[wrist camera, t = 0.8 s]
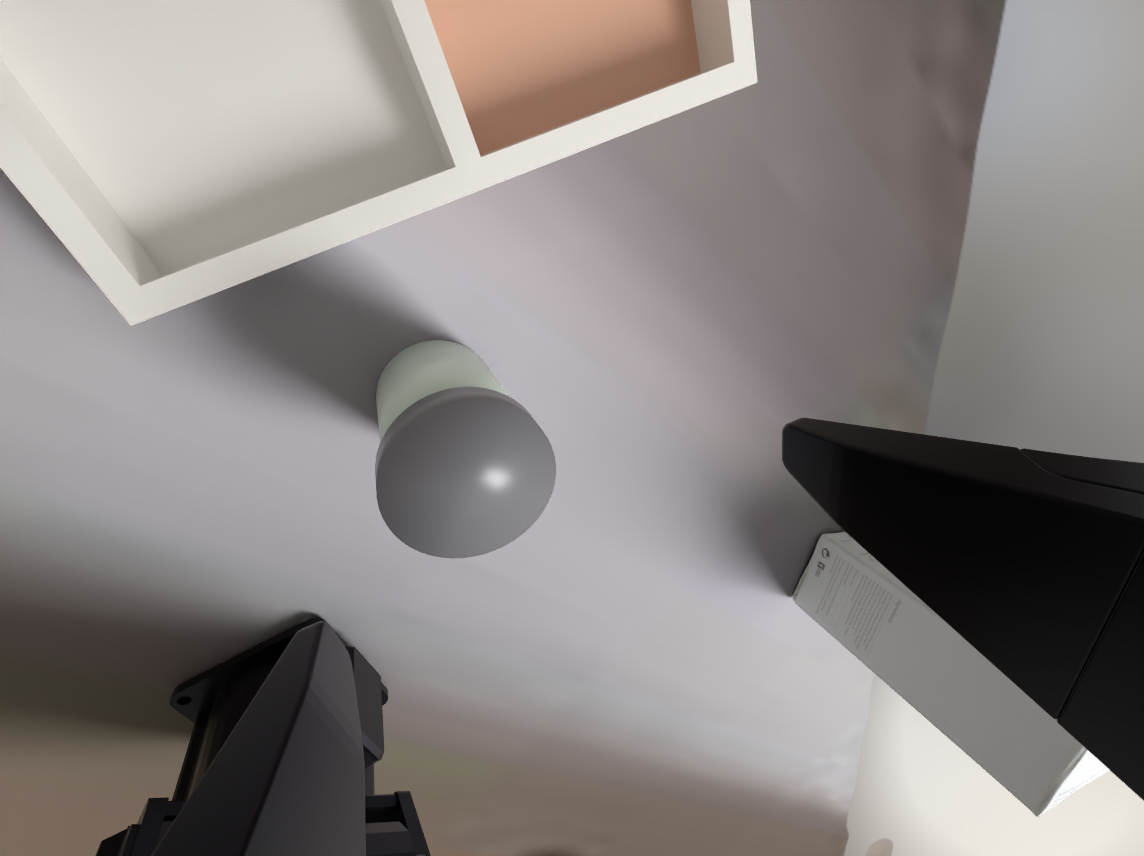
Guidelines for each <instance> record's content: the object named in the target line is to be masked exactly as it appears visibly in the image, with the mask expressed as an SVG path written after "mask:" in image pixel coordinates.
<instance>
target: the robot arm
mask: <svg viewBox="0 0 1144 856" xmlns="http://www.w3.org/2000/svg"><path fill="white" fill-rule="evenodd" d="M782 460H783V463H784V466H785V467H786V469H787V470H788V472H789V473H790V474H791V475H792V476H793V477H794V478H795V479H796V480H797V481H798V483H799V484H800V485H801V486H802V487H803V488H804V489H805V490H806V491H807V492H808V493H809V495H810V496H811V497H812V498H813V499H814V500H815V501H816V502H817V503H818V504H819V505H820V507H821V508H822V509H823V510H824V511H825V512H826V513H827V514H828V515H829V516H830V517H831V518H832V519H833V520H834V522H835V523H836V524H837V525H838V526H840V527H841V528H842V529H843V530H844V531H845V532H846V533H847V534H848V535H849V536H850V537H851V538H853V539H854V540H855V541H856V542H857V543H858V544H859V545H860V546H861V547H863V548H864V549H865V550H866V551H867V552H868V553H869V554H870V555H871V556H873V557H874V558H875V559H876V560H877V561H878V562H879V563H880V564H882V565H883V566H884V567H885V568H886V569H887V570H888V571H889V572H890V573H892V574H893V575H894V576H895V577H896V578H897V579H898V580H899V581H900V582H902V583H903V584H904V585H905V586H906V587H907V588H908V589H909V590H910V591H912V592H913V593H914V594H915V595H916V596H917V597H918V598H919V599H920V600H922V601H923V602H924V603H925V604H926V605H927V606H928V607H929V608H931V609H932V610H933V611H934V612H935V613H936V614H937V615H938V616H939V617H941V618H942V619H943V620H944V621H945V622H946V623H947V624H948V625H949V626H951V627H952V628H953V629H954V630H955V631H956V632H957V633H958V634H959V635H961V636H962V637H963V638H964V639H965V640H966V641H967V642H968V643H969V644H971V645H972V646H973V647H974V648H975V649H976V650H977V651H978V652H979V653H981V654H982V655H983V656H984V657H985V658H986V659H987V660H988V661H990V662H991V663H992V664H993V665H994V666H995V667H996V668H997V669H998V670H1000V671H1001V672H1002V673H1003V674H1004V675H1005V676H1006V677H1007V678H1008V679H1010V680H1011V681H1012V682H1013V683H1014V684H1015V685H1016V686H1017V687H1018V688H1020V689H1021V690H1022V691H1023V692H1024V693H1025V694H1026V695H1027V696H1028V697H1030V698H1031V699H1032V700H1033V701H1034V702H1035V703H1036V704H1037V705H1039V706H1040V707H1041V708H1042V709H1043V710H1044V711H1045V712H1046V713H1047V714H1049V715H1050V716H1051V717H1052V718H1053V719H1057V720H1056V721H1057V723H1058V724H1059V725H1060V726H1061V727H1063V728H1064V729H1065V730H1066V731H1067V732H1068V733H1069V734H1070V735H1071V736H1073V737H1074V738H1075V739H1076V740H1077V741H1078V742H1079V743H1080V744H1081V745H1083V746H1084V747H1085V748H1086V749H1087V750H1088V751H1089V752H1090V753H1091V754H1093V755H1094V756H1095V757H1096V758H1097V759H1098V760H1099V761H1100V762H1101V763H1103V764H1104V765H1105V766H1106V767H1107V768H1108V769H1109V770H1110V771H1112V772H1113V773H1114V774H1115V775H1116V776H1117V777H1118V778H1119V779H1120V780H1122V781H1123V782H1124V783H1125V784H1126V785H1127V786H1128V787H1129V788H1131V789H1132V790H1133V791H1134V792H1135V793H1136V794H1137V795H1138V796H1139V797H1140V798H1142V799H1143V800H1144V463H1138V462H1128V461H1119V460H1108V459H1100V458H1090V457H1083V456H1075V455H1067V454H1059V453H1052V452H1045V451H1038V450H1030V449H1021V450H1020V449H1018V448H1015V447H1009V446H1001V445H994V444H987V443H980V442H973V441H966V440H959V439H951V438H945V437H937V436H930V435H923V434H916V433H909V432H902V431H895V430H888V429H881V428H873V427H866V426H859V425H852V424H845V423H838V422H831V421H824V420H817V419H809V418H800V419H797V420H795V421H793V422H790V423H788V424H786V425H785V426H784V428H783V431H782ZM183 696H189V697H183ZM387 701H388V690H387V688H386V687H385V686H384V685H383V684H382V683H381V677H380V675H379V674H378V672H377V671H376V670H375V669H374V668H373V667H372V666H371V665H370V664H369V662H368V661H367V660H366V659H365V658H364V657H363V656H362V655H361V654H360V652H359V651H358V650H357V649H356V648H355V647H352V646H350V645H349V646H348V645H347V644H346V643H345V642H344V641H343V640H342V639H341V637H340V636H339V635H338V634H337V633H336V632H335V631H334V630H333V629H332V628H331V626H330V625H329V624H328V623H327V622H326V621H325V620H323V619H321V618H312V619H309V620H307V621H305V622H303V623H301V624H299V625H297V626H295V627H293V628H291V629H289V630H287V631H285V632H283V633H281V634H279V635H277V636H275V637H273V638H271V639H269V640H267V641H266V642H264V643H262V644H260V645H258V646H256V647H254V648H252V649H250V650H248V651H246V652H244V653H242V654H240V655H238V656H236V657H234V658H232V659H230V660H228V661H226V662H225V663H223V664H221V665H219V666H217V667H215V668H213V669H211V670H209V671H207V672H205V673H203V674H201V675H199V676H197V677H195V678H193V679H191V680H189V681H187V682H186V683H184V684H182V685H180V686H178V687H177V688H175V689H174V691H173V693H172V696H171V698H170V705H171V706H172V707H173V708H174V709H176V710H177V711H178V712H180V713H181V714H183V715H184V716H185V717H187V718H188V719H189V720H191V721H192V722H194V723H195V725H194V729H193V732H192V735H191V739H190V742H189V745H188V749H187V752H186V755H185V759H184V762H183V765H182V769H181V772H180V775H179V779H178V782H177V785H176V789H175V792H174V795H173V799H172V801H168V799H169V798H149V799H148V801H147V803H146V805H145V807H144V810H143V812H142V814H141V816H140V818H139V821H138V823H137V824H132V825H131V826H128V828H127V829H126V830H124V831H121V832H119V833H117V834H115V835H113V836H111V837H109V838H107V839H105V840H103V841H102V842H101V844H100V846H99V848H98V851H97V853H96V855H95V856H431V855H430V852H429V849H428V846H427V843H426V840H425V837H424V834H423V831H422V828H421V825H420V822H419V818H418V815H417V812H416V809H415V806H414V803H413V800H412V797H411V794H410V792H409V791H397V792H395V793H394V794H385V795H375V794H374V763H376V762H377V761H379V760H381V759H382V756H383V753H384V736H383V715H382V706H383V705H384V704H385V703H386V702H387Z"/></svg>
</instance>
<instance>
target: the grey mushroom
mask: <svg viewBox="0 0 1144 856" xmlns="http://www.w3.org/2000/svg"><path fill="white" fill-rule="evenodd" d="M376 401H377V412H378V423H379V435H380V445H379V448H378V452H377V456H376V464H375V473H376V490H377V500H378V506H379V509H380V512H381V515H382V517H383V519H384V521H385V523H386V524H387V526H388V528H389V529H390V530H391V531H392V532H393V534H394V535H395V536H396V537H398V538H399V539H400V540H401V541H402V542H403V543H405V544H406V545H408V546H409V547H411V548H413V549H415V550H417V551H419V552H422V553H425V554H428V555H432V556H437V557H443V558H466V557H473V556H478V555H482V554H485V553H488V552H491V551H494V550H496V549H499V548H501V547H503V546H505V545H507V544H508V543H510V542H512V541H514V540H515V539H516V538H518V537H519V536H520V535H522V534H523V533H524V532H525V531H526V530H528V529H529V528H530V527H531V526H532V525H533V523H534V522H535V521H536V520H537V519H538V518H539V516H540V515H541V513H542V512H543V511H544V509H545V507H546V505H547V503H548V502H549V499H550V497H551V494H552V491H553V487H554V484H555V476H556V463H555V457H554V453H553V450H552V447H551V444H550V442H549V440H548V438H547V437H546V435H545V434H544V432H543V431H542V430H541V428H540V427H539V425H538V424H537V423H536V421H535V420H534V419H533V417H532V416H531V415H530V414H529V412H528V411H527V410H526V409H525V408H524V407H523V406H522V405H520V404H519V403H518V402H517V401H515V400H514V399H512V398H510V397H509V395H508V394H507V393H506V391H505V390H504V388H503V387H502V386H501V384H500V383H499V381H498V380H497V379H496V377H495V376H494V375H493V373H492V372H491V370H490V369H489V368H488V366H487V365H486V363H485V362H484V361H483V360H482V358H481V357H480V356H479V355H477V354H476V353H475V352H474V351H472V350H471V349H469V348H467V347H466V346H463V345H461V344H459V343H455V342H452V341H445V340H430V341H424V342H419V343H417V344H414V345H411V346H409V347H407V348H405V349H404V350H402V351H401V352H399V353H398V354H397V355H396V356H394V357H393V358H392V359H391V360H390V362H389V363H388V364H387V365H386V367H385V368H384V370H383V372H382V374H381V376H380V378H379V381H378V385H377V392H376Z"/></svg>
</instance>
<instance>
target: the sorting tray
mask: <svg viewBox="0 0 1144 856" xmlns="http://www.w3.org/2000/svg"><path fill="white" fill-rule="evenodd" d="M755 83H757V73H756V62H755V52H754V41H753V30H752V19H751V8H750V0H0V168H1V169H2V170H3V171H4V173H5V174H6V175H7V176H8V178H9V179H10V180H11V181H12V182H13V184H14V185H15V186H16V187H17V188H18V190H19V191H20V192H21V193H22V195H23V196H24V197H25V198H26V199H27V201H28V202H29V203H30V204H31V205H32V207H33V208H34V209H35V210H36V211H37V213H38V214H39V215H40V216H41V218H42V219H43V220H44V221H45V222H46V224H47V225H48V226H49V227H50V228H51V230H52V231H53V232H54V233H55V234H56V236H57V237H58V238H59V239H60V241H61V242H62V243H63V244H64V245H65V247H66V248H67V249H68V250H69V251H70V253H71V254H72V255H73V256H74V257H75V259H76V260H77V261H78V262H79V264H80V265H81V266H82V267H83V268H84V270H85V271H86V272H87V273H88V274H89V276H90V277H91V278H92V279H93V280H94V282H95V283H96V284H97V285H98V287H99V288H100V289H101V290H102V291H103V293H104V294H105V295H106V296H107V297H108V299H109V300H110V301H111V302H112V304H113V305H114V306H115V307H116V308H117V310H118V311H119V312H120V313H121V314H122V316H123V317H124V318H125V319H126V320H127V322H128V323H129V324H130V325H131V326H132V325H135V324H137V323H140V322H143V321H145V320H148V319H150V318H153V317H155V316H158V315H161V314H163V313H166V312H168V311H171V310H173V309H176V308H179V307H181V306H184V305H186V304H189V303H191V302H194V301H197V300H199V299H202V298H204V297H207V296H209V295H212V294H215V293H217V292H220V291H222V290H225V289H227V288H230V287H233V286H235V285H238V284H240V283H243V282H245V281H248V280H251V279H253V278H256V277H258V276H261V275H263V274H266V273H269V272H271V271H274V270H276V269H279V268H281V267H284V266H287V265H289V264H292V263H294V262H297V261H299V260H302V259H305V258H307V257H310V256H312V255H315V254H317V253H320V252H323V251H325V250H328V249H330V248H333V247H335V246H338V245H341V244H343V243H346V242H348V241H351V240H353V239H356V238H359V237H361V236H364V235H366V234H369V233H371V232H374V231H377V230H379V229H382V228H384V227H387V226H389V225H392V224H395V223H397V222H400V221H402V220H405V219H407V218H410V217H413V216H415V215H418V214H420V213H423V212H425V211H428V210H431V209H433V208H436V207H438V206H441V205H443V204H446V203H449V202H451V201H454V200H456V199H459V198H461V197H464V196H467V195H469V194H472V193H474V192H477V191H479V190H482V189H485V188H487V187H490V186H492V185H495V184H497V183H500V182H503V181H505V180H508V179H510V178H513V177H515V176H518V175H521V174H523V173H526V172H528V171H531V170H533V169H536V168H539V167H541V166H544V165H546V164H549V163H551V162H554V161H557V160H559V159H562V158H564V157H567V156H569V155H572V154H575V153H577V152H580V151H582V150H585V149H587V148H590V147H593V146H595V145H598V144H600V143H603V142H605V141H608V140H611V139H613V138H616V137H618V136H621V135H623V134H626V133H629V132H631V131H634V130H636V129H639V128H641V127H644V126H647V125H649V124H652V123H654V122H657V121H659V120H662V119H665V118H667V117H670V116H672V115H675V114H677V113H680V112H683V111H685V110H688V109H690V108H693V107H695V106H698V105H701V104H703V103H706V102H708V101H711V100H713V99H716V98H719V97H721V96H724V95H726V94H729V93H731V92H734V91H737V90H739V89H742V88H744V87H747V86H749V85H752V84H755Z"/></svg>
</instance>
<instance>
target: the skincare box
mask: <svg viewBox="0 0 1144 856" xmlns="http://www.w3.org/2000/svg"><path fill="white" fill-rule="evenodd" d="M793 600H794V601H795V603H796V604H797V605H798V606H799V607H800V608H801V609H802V610H803V611H804V612H806V613H807V614H808V615H809V616H810V617H811V618H812V619H814V620H815V621H816V622H817V623H818V624H819V625H820V626H822V627H823V628H824V629H825V630H826V631H827V632H828V633H830V634H831V635H832V636H833V637H834V638H835V639H836V640H838V641H839V642H840V643H841V644H842V645H843V646H844V647H846V648H847V649H848V650H849V651H850V652H851V653H852V654H853V655H855V656H856V657H857V658H858V659H859V660H860V661H861V662H862V663H864V664H865V665H866V666H867V667H868V668H869V669H870V670H872V671H873V672H874V673H875V674H876V675H877V676H878V677H880V678H881V679H882V680H883V681H884V682H885V683H886V684H887V685H889V686H890V687H891V688H892V689H893V690H894V691H895V692H897V693H898V694H899V695H900V696H901V697H902V698H904V699H905V700H906V701H907V702H908V703H909V704H910V705H911V706H913V707H914V708H915V709H916V710H917V711H918V712H920V713H921V714H922V715H923V716H924V717H925V718H926V719H927V720H929V721H930V722H931V723H932V724H933V725H934V726H935V727H937V728H938V729H939V730H940V731H941V732H942V733H943V734H945V735H946V736H947V737H948V738H949V739H950V740H951V741H953V742H954V743H955V744H956V745H957V746H958V747H960V748H961V749H962V750H963V751H964V752H965V753H966V754H967V755H969V756H970V757H971V758H972V759H973V760H974V761H976V763H978V764H979V765H980V766H981V767H982V768H983V769H985V770H986V771H987V772H988V773H989V774H990V775H991V776H992V777H993V778H995V779H996V780H997V781H998V782H999V783H1000V784H1002V785H1003V786H1004V787H1005V788H1006V789H1007V790H1008V791H1009V792H1011V793H1012V794H1013V795H1014V796H1015V797H1016V798H1017V799H1018V800H1020V801H1021V802H1022V803H1023V804H1024V805H1025V806H1026V807H1028V808H1029V809H1030V810H1031V811H1032V812H1033V813H1034V815H1035V816H1037V817H1039V816H1040V815H1041V814H1043V813H1045V812H1046V811H1048V810H1049V809H1051V808H1052V807H1054V806H1056V805H1057V804H1058V803H1059V802H1061V801H1062V800H1064V799H1065V798H1066V797H1068V796H1069V795H1070V794H1072V793H1073V792H1075V791H1076V790H1078V789H1079V788H1081V787H1083V786H1084V785H1086V784H1088V783H1089V782H1091V781H1092V780H1094V779H1096V778H1097V777H1099V776H1100V775H1102V774H1104V773H1106V772H1108V771H1109V769H1108V768H1107V767H1106V766H1105V765H1104V764H1103V763H1101V762H1100V761H1099V760H1098V759H1097V758H1096V757H1095V756H1094V755H1093V754H1091V753H1090V752H1089V751H1088V750H1087V749H1086V748H1085V747H1084V746H1083V745H1081V744H1080V743H1079V742H1078V741H1077V740H1076V739H1075V738H1074V737H1073V736H1071V735H1070V734H1069V733H1068V732H1067V731H1066V730H1065V729H1064V728H1063V727H1061V726H1060V725H1059V724H1058V723H1057V721H1056V720H1057V719H1053V718H1052V717H1051V716H1050V715H1049V714H1047V713H1046V712H1045V711H1044V710H1043V709H1042V708H1041V707H1040V706H1039V705H1037V704H1036V703H1035V702H1034V701H1033V700H1032V699H1031V698H1030V697H1028V696H1027V695H1026V694H1025V693H1024V692H1023V691H1022V690H1021V689H1020V688H1018V687H1017V686H1016V685H1015V684H1014V683H1013V682H1012V681H1011V680H1010V679H1008V678H1007V677H1006V676H1005V675H1004V674H1003V673H1002V672H1001V671H1000V670H998V669H997V668H996V667H995V666H994V665H993V664H992V663H991V662H990V661H988V660H987V659H986V658H985V657H984V656H983V655H982V654H981V653H979V652H978V651H977V650H976V649H975V648H974V647H973V646H972V645H971V644H969V643H968V642H967V641H966V640H965V639H964V638H963V637H962V636H961V635H959V634H958V633H957V632H956V631H955V630H954V629H953V628H952V627H951V626H949V625H948V624H947V623H946V622H945V621H944V620H943V619H942V618H941V617H939V616H938V615H937V614H936V613H935V612H934V611H933V610H932V609H931V608H929V607H928V606H927V605H926V604H925V603H924V602H923V601H922V600H920V599H919V598H918V597H917V596H916V595H915V594H914V593H913V592H912V591H910V590H909V589H908V588H907V587H906V586H905V585H904V584H903V583H902V582H900V581H899V580H898V579H897V578H896V577H895V576H894V575H893V574H892V573H890V572H889V571H888V570H887V569H886V568H885V567H884V566H883V565H882V564H880V563H879V562H878V561H877V560H876V559H875V558H874V557H873V556H871V555H870V554H869V553H868V552H867V551H866V550H865V549H864V548H863V547H861V546H860V545H859V544H858V543H857V542H856V541H855V540H854V539H853V538H851V537H850V536H849V535H848V534H847V533H846V532H840V533H828V534H822V535H821V537H820V538H819V540H818V542H817V545H816V548H815V551H814V553H813V556H812V558H811V560H810V562H809V564H808V566H807V567H806V569H805V571H804V573H803V575H802V577H801V579H800V581H799V583H798V586H797V588H796V590H795V592H794V594H793Z"/></svg>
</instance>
